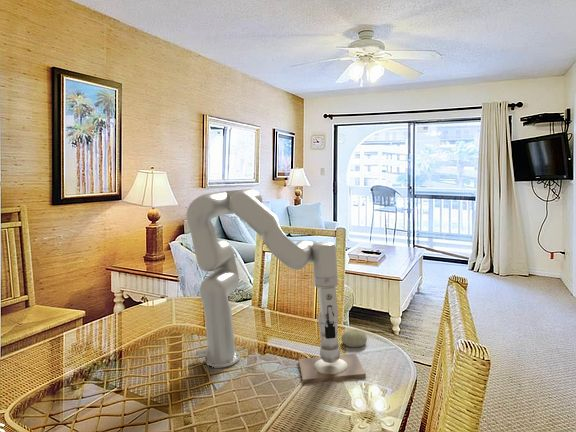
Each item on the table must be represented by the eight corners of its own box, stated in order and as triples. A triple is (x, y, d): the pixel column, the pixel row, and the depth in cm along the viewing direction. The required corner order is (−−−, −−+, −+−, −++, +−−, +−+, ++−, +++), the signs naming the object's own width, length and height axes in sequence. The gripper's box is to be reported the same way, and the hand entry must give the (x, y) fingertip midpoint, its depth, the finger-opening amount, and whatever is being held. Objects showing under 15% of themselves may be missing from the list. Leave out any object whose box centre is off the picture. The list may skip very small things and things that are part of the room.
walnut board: (303, 383, 131) (302, 379, 131) (298, 362, 145) (298, 358, 145) (365, 377, 132) (365, 373, 132) (355, 356, 146) (355, 353, 146)
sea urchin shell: (369, 344, 151) (352, 329, 152) (354, 358, 153) (338, 343, 154) (369, 333, 160) (353, 319, 161) (355, 347, 162) (339, 333, 162)
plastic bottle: (341, 364, 135) (338, 305, 132) (320, 365, 135) (317, 306, 133) (339, 355, 142) (336, 298, 139) (319, 356, 142) (316, 299, 139)
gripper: (342, 287, 126) (345, 343, 129) (332, 272, 144) (335, 322, 146) (318, 289, 126) (321, 346, 128) (311, 274, 143) (314, 324, 145)
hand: (328, 333), depth 137 cm, fingers closed on plastic bottle, 6 cm apart
